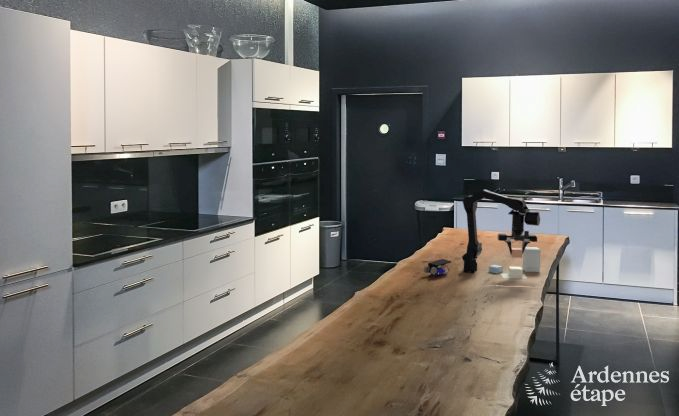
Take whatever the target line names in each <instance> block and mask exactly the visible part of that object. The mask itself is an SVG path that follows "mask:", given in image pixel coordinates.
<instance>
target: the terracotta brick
mask: <svg viewBox="0 0 679 416" xmlns="http://www.w3.org/2000/svg"><path fill="white" fill-rule="evenodd" d="M511 249H512V254H510V257H511V258H512V259H513V258H518V259H519V258H520V259H523V255H522V251H523V250H522V247H511Z"/></svg>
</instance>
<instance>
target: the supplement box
mask: <svg viewBox="0 0 679 416" xmlns="http://www.w3.org/2000/svg"><path fill="white" fill-rule="evenodd" d="M541 253H542V251H541V249H540V248H539V247H536V246H533V247H532V246H526V247H525V250H524V252H523V255H522V266H521V267H522V269H523V272H527V273H541Z"/></svg>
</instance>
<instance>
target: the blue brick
mask: <svg viewBox="0 0 679 416" xmlns="http://www.w3.org/2000/svg"><path fill="white" fill-rule="evenodd" d="M488 273H492V274H500V273H503V265H499V264H492V265H489V266H488Z"/></svg>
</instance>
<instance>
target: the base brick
mask: <svg viewBox="0 0 679 416" xmlns="http://www.w3.org/2000/svg"><path fill="white" fill-rule="evenodd" d="M522 267H523V266H510V265H509V266H508V274H509V276H510V277H523V274H524V270H523V269H522Z"/></svg>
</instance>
